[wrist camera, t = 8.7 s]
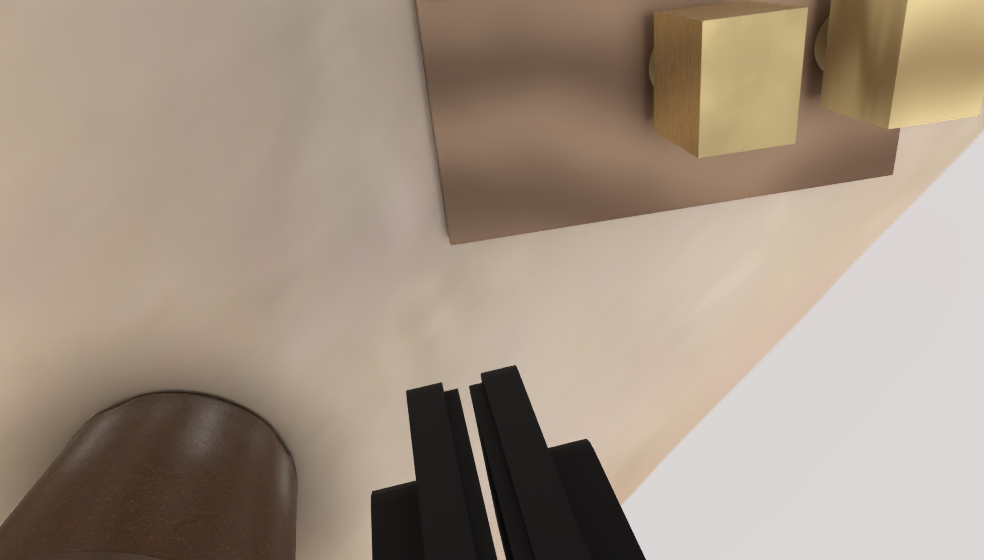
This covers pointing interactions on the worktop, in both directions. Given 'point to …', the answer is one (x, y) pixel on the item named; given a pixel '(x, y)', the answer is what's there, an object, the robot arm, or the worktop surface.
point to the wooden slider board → (630, 106)
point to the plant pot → (162, 488)
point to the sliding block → (728, 76)
